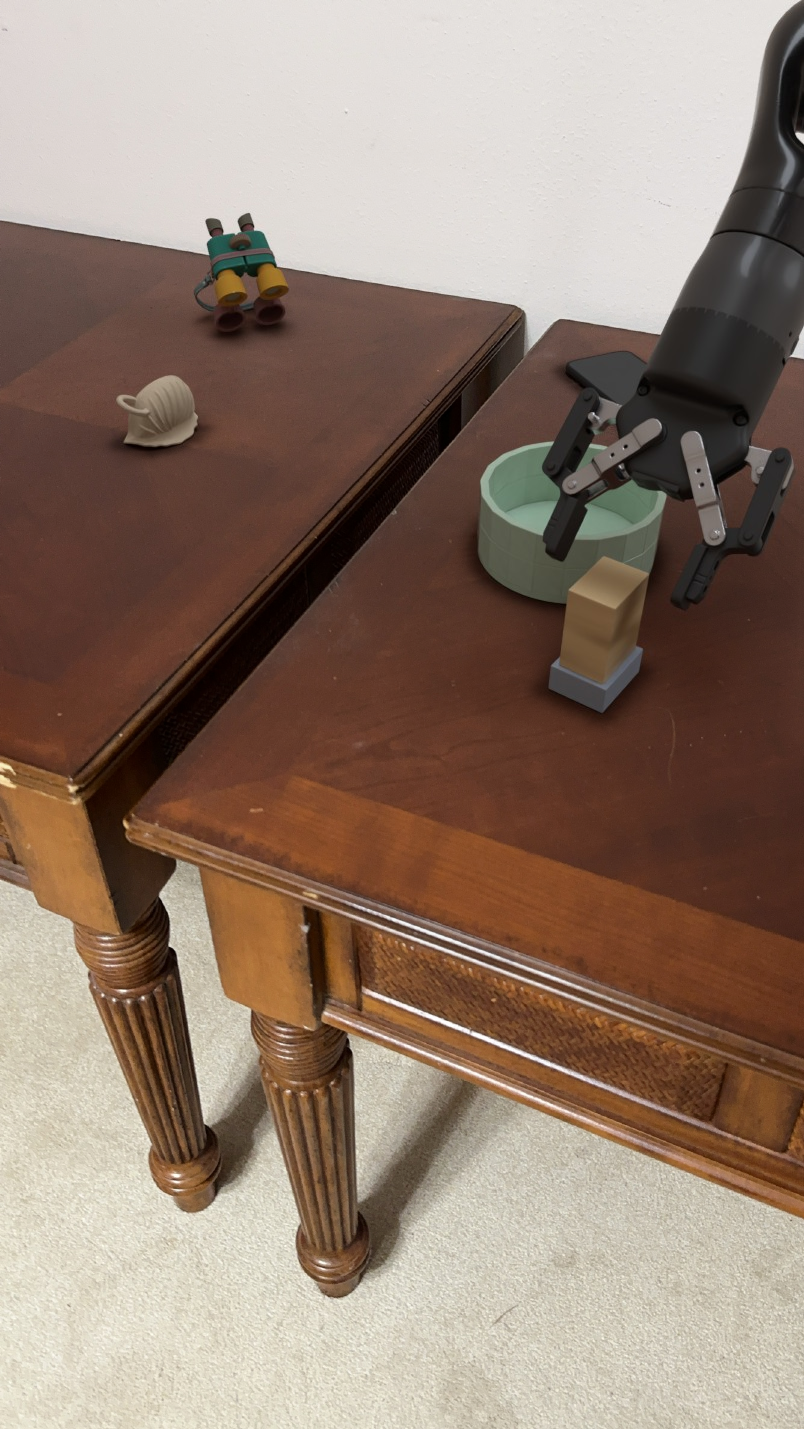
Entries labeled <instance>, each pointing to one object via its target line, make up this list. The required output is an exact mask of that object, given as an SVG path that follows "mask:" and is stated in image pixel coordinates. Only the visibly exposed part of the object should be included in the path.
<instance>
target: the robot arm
mask: <svg viewBox="0 0 804 1429" xmlns="http://www.w3.org/2000/svg"><path fill="white" fill-rule="evenodd" d="M752 117H753V118H752V123H751V128H750V132H749V136H748V141H747V145H746V149H745V152H744V155H743V159H742V162H741V166H740V168H739V171H738V173H737V177H736V179H735V182H734V185H733V187H732V189H731V192H730V193H729V196H728V198H727V200H726V203H725V205H724V206H723V209H722V211H721V214H720V215H719V218H718V220H717V222H716V223H715V226H714V228H713V231H712V233H711V235H710V237H709V240H708V242H707V243H706V245H705V247H704V249H703V250H702V252H701V254H700V256H699V257H698V259H697V260H696V262H695V263H694V265H693V267H692V268H691V270H690V271H689V273H688V275H687V277H686V279H685V282H684V283H683V285H682V288H681V290H680V292H679V294H678V296H677V298H676V300H675V302H674V305H673V307H672V309H671V312H670V314H669V315H668V318H667V320H666V322H665V324H664V326H663V328H662V331H661V333H660V336H659V337H658V339H657V341H656V344H655V346H654V348H653V351H652V352H651V355H650V357H649V358H648V361H647V362H646V363H647V365H646V367H645V370H644V372H643V374H642V376H641V379H640V381H639V384H638V387H637V389H636V392H635V393H634V395H633V396H632V397H631V398H630V399H629V400H628V401H627V402H626V403H625V404H623V405H619V404H617V403H614V402H612V401H609V400H606V399H604V398H601V397H600V396H599V395H598V393H597V392H596V390H595V389H593V388H590V387H588V388H586V387H584V388H583V389H581V391H580V392H579V394H578V396H577V397H576V399H575V401H574V403H573V404H572V407H571V409H570V410H569V413H568V414H567V416H566V418H565V420H564V422H563V424H562V425H561V427H560V430H559V432H558V433H557V435H556V437H555V439H554V441H553V442H554V443H553V445H552V447H551V449H550V450H549V452H548V454H547V456H546V458H545V460H544V462H543V464H542V471H543V472H544V474H545V475H546V476H547V477H548V478H549V479H550V480H551V481H552V482H553V483H554V484H555V485H556V486H557V487H558V488H559V489H560V497H559V500H558V502H557V504H556V506H555V508H554V510H553V513H552V515H551V517H550V519H549V521H548V523H547V526H546V528H545V530H544V532H543V542H544V543H545V544H546V548H545V553H546V554H547V555H549V556H550V557H551V558H553V559H555V560H558V561H560V562H563V561H564V560H565V559H566V557H567V555H568V552H569V550H570V548H571V546H572V544H573V542H574V539H575V537H576V535H577V533H578V531H579V529H580V527H581V524H582V522H583V520H584V518H585V516H586V514H587V511H588V509H587V508H586V507H585V505H586V504H588V503H589V502H591V501H592V500H594V499H596V498H597V497H599V496H601V495H602V494H604V493H605V492H607V491H609V490H615V489H617V488H619V487H621V486H623V485H624V484H626V483H627V482H629V481H631V480H633V481H634V482H635V483H636V484H637V486H638V487H641V488H644V489H647V490H652V491H663V492H664V493H666V495H667V497H670V498H671V499H673V500H676V501H679V502H681V503H685V501H688V500H689V501H690V500H694V505H695V507H696V510H697V514H698V517H699V522H700V527H701V529H702V530H701V531H702V535H703V538H702V541H701V543H698V542H695V544H694V546H693V548H692V551H691V553H690V554H689V557H688V558H687V561H686V563H685V565H684V568H683V569H682V571H681V574H680V576H679V578H678V580H677V582H676V584H675V587H674V588H673V591H672V593H671V595H670V597H669V598H670V599H669V602H670V604H671V605H672V606H673V607H674V608H675V609H679V610H681V611H684V612H686V611H688V610H689V608H690V607H691V605H692V604H694V605H696V606H698V605H699V604H700V603H701V602H702V601H704V599H706V596H707V594H708V592H709V589H710V587H711V585H712V583H713V581H714V579H715V577H716V575H717V572H718V570H719V568H720V566H721V564H722V562H723V561H724V559H726V558H727V557H729V556H731V555H746V556H748V557H750V558H751V557H752V558H754V557H758V556H760V555H761V554H762V553H763V552H764V551H765V548H766V546H767V543H768V540H769V538H770V536H771V534H772V531H773V528H774V526H775V523H776V521H777V518H778V516H779V513H780V511H781V508H782V506H783V504H784V501H785V499H786V496H787V494H788V491H789V489H790V486H791V483H792V482H793V479H794V476H795V473H796V467H795V463H794V459H793V456H792V454H791V451H790V450H789V449H788V448H787V447H784V446H783V447H782V446H781V447H780V446H779V447H777V448H774V449H773V450H769V449H766V448H762V447H757V446H753V445H752V439H753V434H754V432H755V430H756V429H757V426H758V424H759V422H760V420H761V418H762V416H763V414H764V412H765V409H766V407H767V405H768V403H769V401H770V399H771V397H772V395H773V392H774V390H775V388H776V386H777V384H778V382H779V380H780V378H781V375H782V373H783V371H784V369H785V368H786V365H787V363H788V362H789V359H790V357H791V356H792V355H793V354H794V352H795V350H796V348H797V346H798V343H799V341H800V335H801V334H802V331H803V329H804V143H803V142H802V141H801V140H800V139H799V137H798V136H797V133H799V134H802V135H804V0H799V1H797V2H796V3H794V4H793V5H792V6H791V7H789V9H787V10H786V11H785V12H784V14H783V15H782V16H781V17H780V18H779V19H778V21H777V22H776V24H775V25H774V26H773V28H772V30H771V32H770V34H769V37H768V39H767V42H766V45H765V47H764V51H763V55H762V61H761V65H760V70H759V76H758V83H757V91H756V98H755V104H754V112H753V116H752ZM611 425H615V428H616V433H617V438H618V440H617V441H615V442H614V443H612V444H611V445H609V446H606V447H607V448H606V449H604V450H603V451H601V452H599V453H598V454H596V455H595V456H594V457H593V458H592V461H591V462H590V463H589V464H587V465H585V466H584V467H582V468H581V469H579V470H577V468H578V466H579V464H580V462H581V460H582V459H583V457H584V455H585V453H586V451H587V449H588V447H589V445H590V444H592V442H593V440H594V439H595V435H596V436H597V435H602V434H603V433H604V432H605V431H607V428H608V427H609V426H611ZM613 456H614V457H613ZM747 466H748V467H750V468H751V472H750V479H751V481H752V484H753V485H754V487H755V490H754V493H753V496H752V498H751V501H750V503H749V505H748V508H747V510H746V513H745V515H744V517H743V520H742V521H741V525H740V527H728V523H727V519H726V512H725V507H724V503H723V499H722V495H721V491H720V487H719V485H720V484H721V483H723V482H725V481H726V480H728V479H729V478H731V477H733V476H734V475H736V474H737V473H739V472H741V471H742V470H744V469H745V468H746V467H747ZM576 470H577V471H576ZM625 471H626V472H625Z"/></svg>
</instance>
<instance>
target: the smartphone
mask: <svg viewBox="0 0 804 1429" xmlns="http://www.w3.org/2000/svg"><path fill="white" fill-rule="evenodd" d="M647 363H648V362H646V361H645V360H643V359H642V358H640V357H639V356H638V355H637V354H635V353H633V352H631V351H629V350H617V351H611V352H606V353H602V354H597V355H593V356H592V355H591V356H588V357H581V358H578V359H572V360H570V361H568V362H567V363H566V365H565V371H566V373H567V374H569V375H570V376H571V377H572V378H573V379H575V380H576V381H577V382H578V383H579V384H581V385H582V386H583V387H584V388H588V387H590V388H593V389H595V390H596V392H597V393H598V395H599V396H600V397H601V398H604V399H606V400H609V401H612V402H614V403H617V404H619V405H623V404H625V403H626V402H627V401H628V400H629V399H630V398H631V397H632V396H633V395H634V393H635V392H636V389H637V387H638V384H639V381H640V379H641V376H642V374H643V372H644V370H645V367H646V365H647Z"/></svg>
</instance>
